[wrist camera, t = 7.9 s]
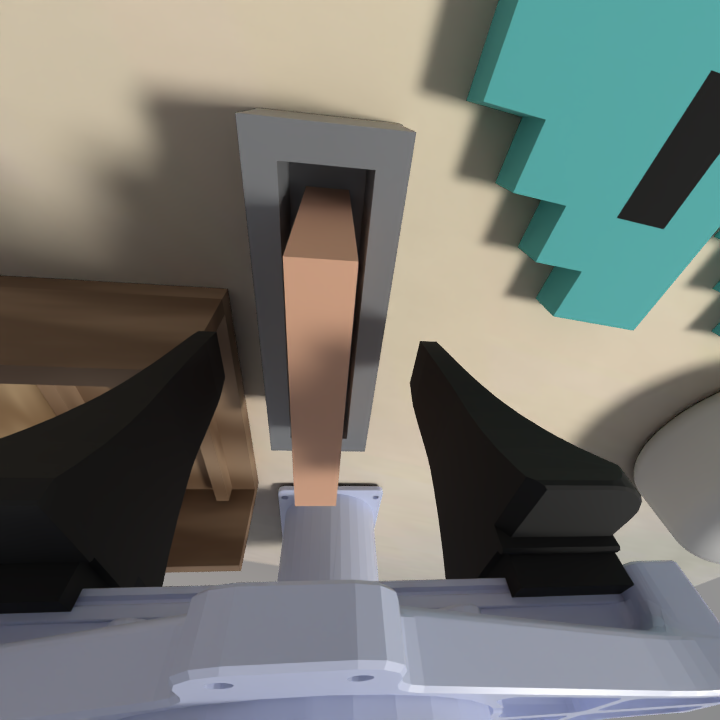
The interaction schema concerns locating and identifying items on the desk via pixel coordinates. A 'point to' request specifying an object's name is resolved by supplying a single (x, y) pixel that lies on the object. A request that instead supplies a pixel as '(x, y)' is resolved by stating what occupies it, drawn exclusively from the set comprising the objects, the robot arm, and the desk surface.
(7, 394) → the offcut
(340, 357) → the salmon rectangular block
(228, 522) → the rack
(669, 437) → the donut shape
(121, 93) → the desk surface
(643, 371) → the desk surface
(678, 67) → the alien figure
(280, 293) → the holder
